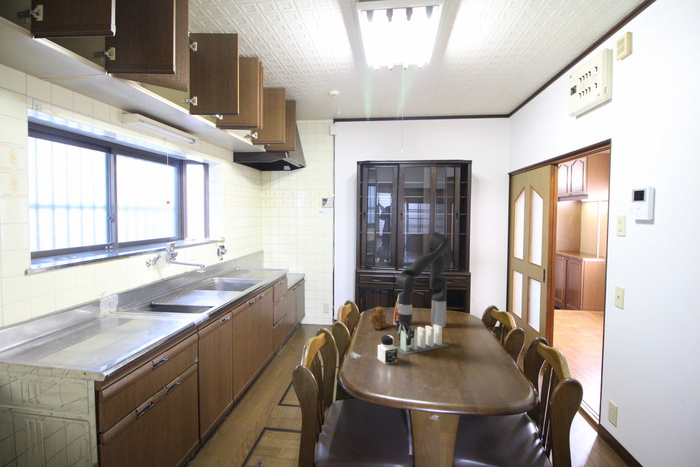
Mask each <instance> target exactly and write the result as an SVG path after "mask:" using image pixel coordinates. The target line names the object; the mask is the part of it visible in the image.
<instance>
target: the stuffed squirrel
mask: <svg viewBox="0 0 700 467" xmlns="http://www.w3.org/2000/svg"><path fill="white" fill-rule="evenodd" d="M373 310H374V311H375V313H373V314H371V315H370V316H369V317H368V321H370V323H371V324H372V327H373V329H374V330H377V331H378V330H379V331H380V330H381V329H387V328H388V327H389V326H390V324H389V323H387V321H386V315H385V314H384V312H385V310H384V307H381V306H377V307H373Z"/></svg>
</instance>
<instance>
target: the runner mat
mask: <svg viewBox="0 0 700 467" xmlns="http://www.w3.org/2000/svg"><path fill="white" fill-rule="evenodd" d="M396 347H397V353H400V354H401V355H403V356H406V355H411V354H416V353H420V352H425V351H432V350H437V349H442V348H447V347H450V345H449V344H447V343H445V342H443V341H442V345H438V344H436V343H434V346H432V347H430V346H429V345H427V344H426V348H421V347H420V346H418V345H417V349H416V350H414V349H412V348H410V347H409V351H404V350H403V349H401V348H400V345H399V346H396Z"/></svg>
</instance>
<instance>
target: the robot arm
mask: <svg viewBox="0 0 700 467" xmlns="http://www.w3.org/2000/svg"><path fill="white" fill-rule="evenodd" d="M451 242H452V241H451V238H449V237H448V236H446V235H444V234H442V233H440V232H437V231H434V232H432V233H431V234H430V235H429V238H428V242H427V244H428V245H427V246H428V250H429V253H426V254H424V255H421V256H419V257H418V258H416V259H415V260H414V261H413V262H412V263H411V265H410V266H409V267H407V268H406V269H404V270H403V271H401V272H400V273H399V274H398V275H397V277H396V279H395V283H396V285H397V286H398V287H399V288H400V287H401V288H403V290H402V291H400V292H399V293H398V294H399V305H398V320H396V325H395V328H396V329H395V330H396V332H397V333H398V341H400V342H401V330H403V331H404V332H405V334H406V336H407V345H411V338H414V329H415V326H412V324H411V323H412V322H413V294H414V291H415V288H416V281H415V278H417V277H418V278H419V276H421V274H422V273H423V272H424V271H425V270H426V269H427V268H428V267H429V270H430V274H429V275H430V276H429V277H430V278H429V287H430V289H431V290H433V291H434V290H435V291H437V290H438V291H440V292H438V293H435V294H432V295H431V309H430V325H431V327H433V325H435V324H437V325H439V326H441V327H442V329H443V328H446V327H447V326H446V325H447V286H448V279H447V277H446V276H445V275H441V274H442V273H444V271H445V270H446V257H445V256H444V253H445V252H446V251H447V250H448V248H449V247H450V245H451ZM407 331H408V332H407ZM408 334H409V336H408ZM411 334H412V335H411Z"/></svg>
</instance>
